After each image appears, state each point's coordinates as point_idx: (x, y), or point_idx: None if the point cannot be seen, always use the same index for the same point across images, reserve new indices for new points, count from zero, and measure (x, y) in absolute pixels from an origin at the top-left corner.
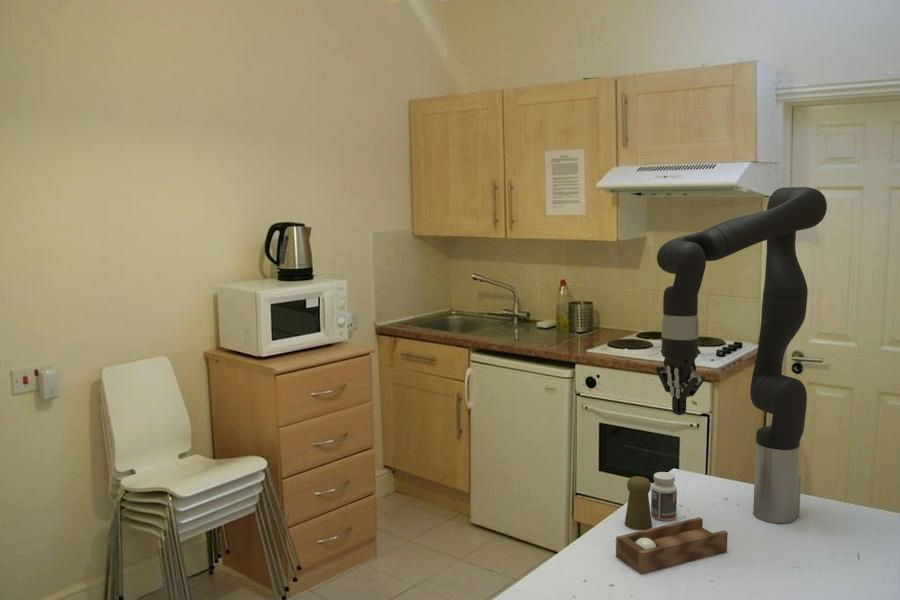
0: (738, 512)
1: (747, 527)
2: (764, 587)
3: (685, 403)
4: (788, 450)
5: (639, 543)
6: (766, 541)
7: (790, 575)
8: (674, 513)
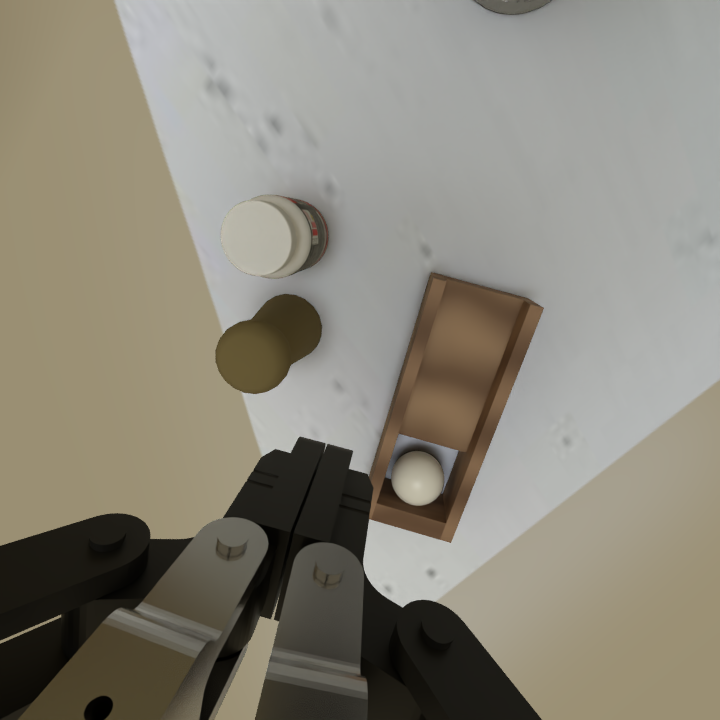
0: (421, 17)
1: (497, 107)
2: (672, 390)
3: (364, 537)
4: None
5: (414, 504)
6: (581, 155)
7: (705, 295)
8: (326, 234)
